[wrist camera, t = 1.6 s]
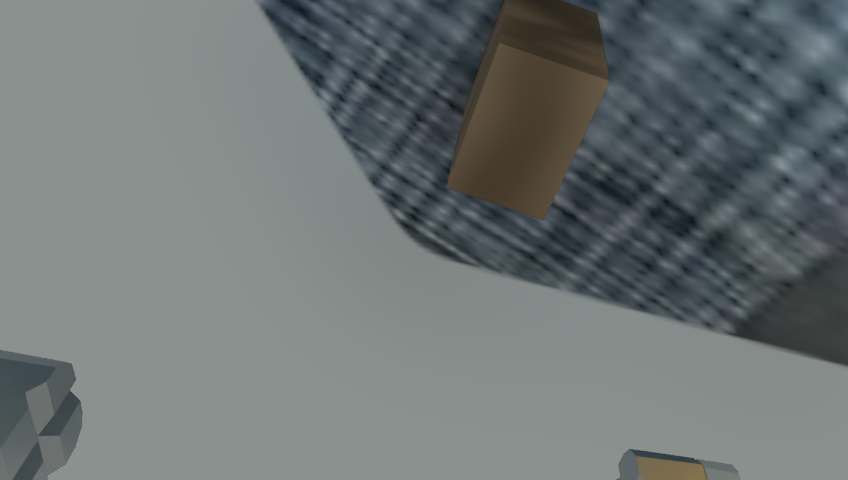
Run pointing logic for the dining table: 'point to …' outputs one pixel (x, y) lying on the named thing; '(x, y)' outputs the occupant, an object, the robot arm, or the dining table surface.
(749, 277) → the dining table surface
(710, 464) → the robot arm
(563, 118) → the walnut block
